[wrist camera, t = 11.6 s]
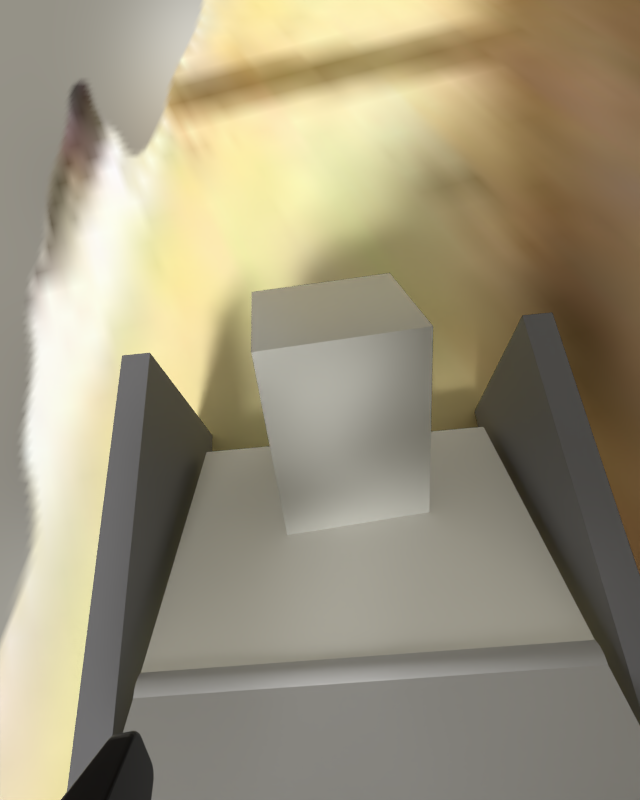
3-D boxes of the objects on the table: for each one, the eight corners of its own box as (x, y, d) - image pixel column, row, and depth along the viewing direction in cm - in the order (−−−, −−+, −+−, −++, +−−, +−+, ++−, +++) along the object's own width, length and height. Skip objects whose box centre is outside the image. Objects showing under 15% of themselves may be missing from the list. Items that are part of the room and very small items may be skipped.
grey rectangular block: (429, 512, 17) (432, 326, 13) (287, 535, 17) (251, 352, 13) (394, 431, 21) (389, 272, 18) (280, 448, 21) (252, 292, 17)
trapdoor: (711, 1025, 9) (779, 986, 8) (102, 1049, 10) (34, 1018, 8) (478, 485, 23) (483, 424, 21) (222, 507, 23) (206, 450, 21)
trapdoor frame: (602, 847, 17) (783, 1007, 10) (171, 871, 17) (35, 1038, 10) (495, 409, 24) (552, 312, 17) (192, 437, 25) (122, 355, 17)
